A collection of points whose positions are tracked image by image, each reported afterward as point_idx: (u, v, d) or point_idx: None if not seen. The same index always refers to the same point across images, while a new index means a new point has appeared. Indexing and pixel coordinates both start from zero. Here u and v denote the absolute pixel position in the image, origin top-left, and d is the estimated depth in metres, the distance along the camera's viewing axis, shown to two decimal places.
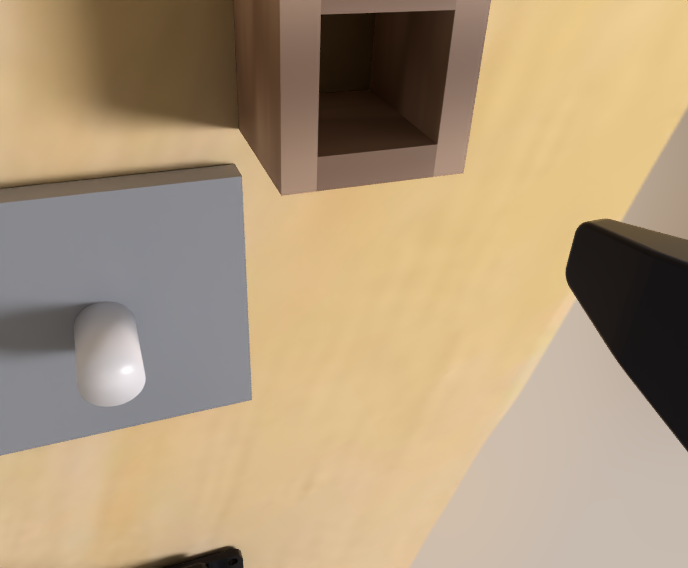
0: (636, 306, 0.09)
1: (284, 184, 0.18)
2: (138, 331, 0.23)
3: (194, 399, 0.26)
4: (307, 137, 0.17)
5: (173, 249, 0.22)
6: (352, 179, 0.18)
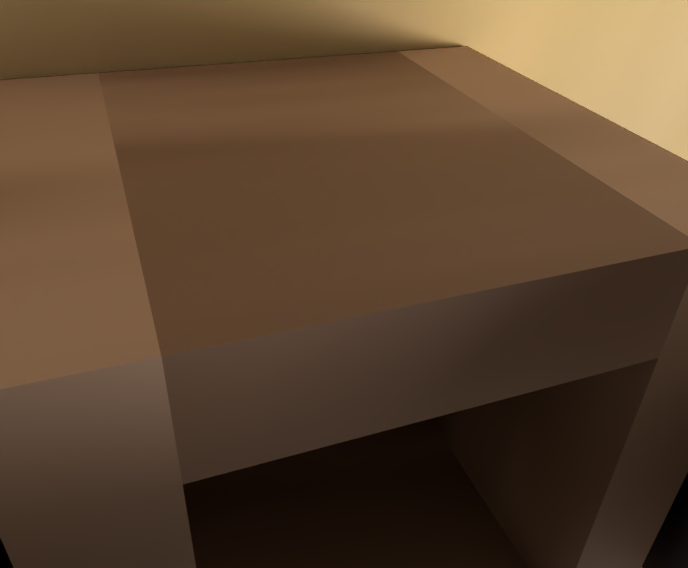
0: None
1: None
2: None
3: None
4: None
5: None
6: None
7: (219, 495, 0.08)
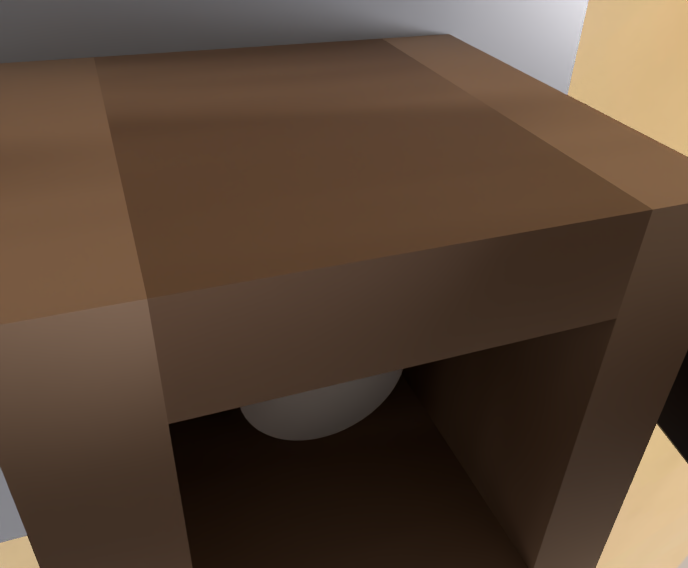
0: None
1: None
2: None
3: None
4: None
5: None
6: None
7: (210, 464, 0.09)
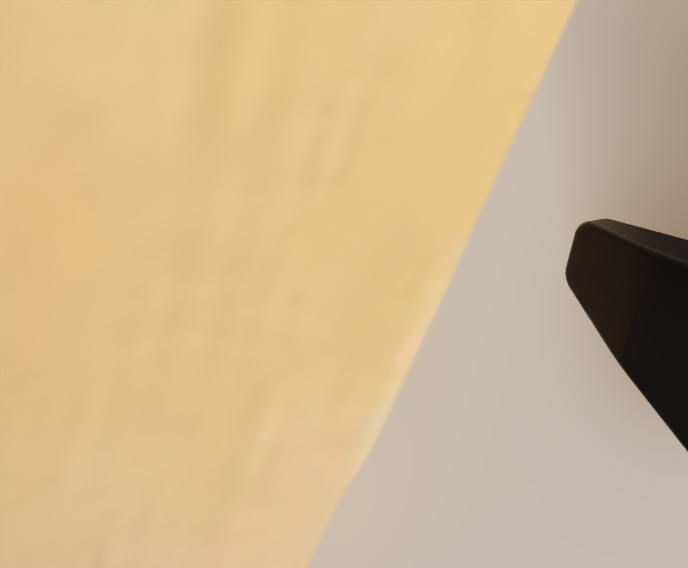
0: (636, 306, 0.09)
1: None
2: None
3: None
4: None
5: None
6: None
7: None
